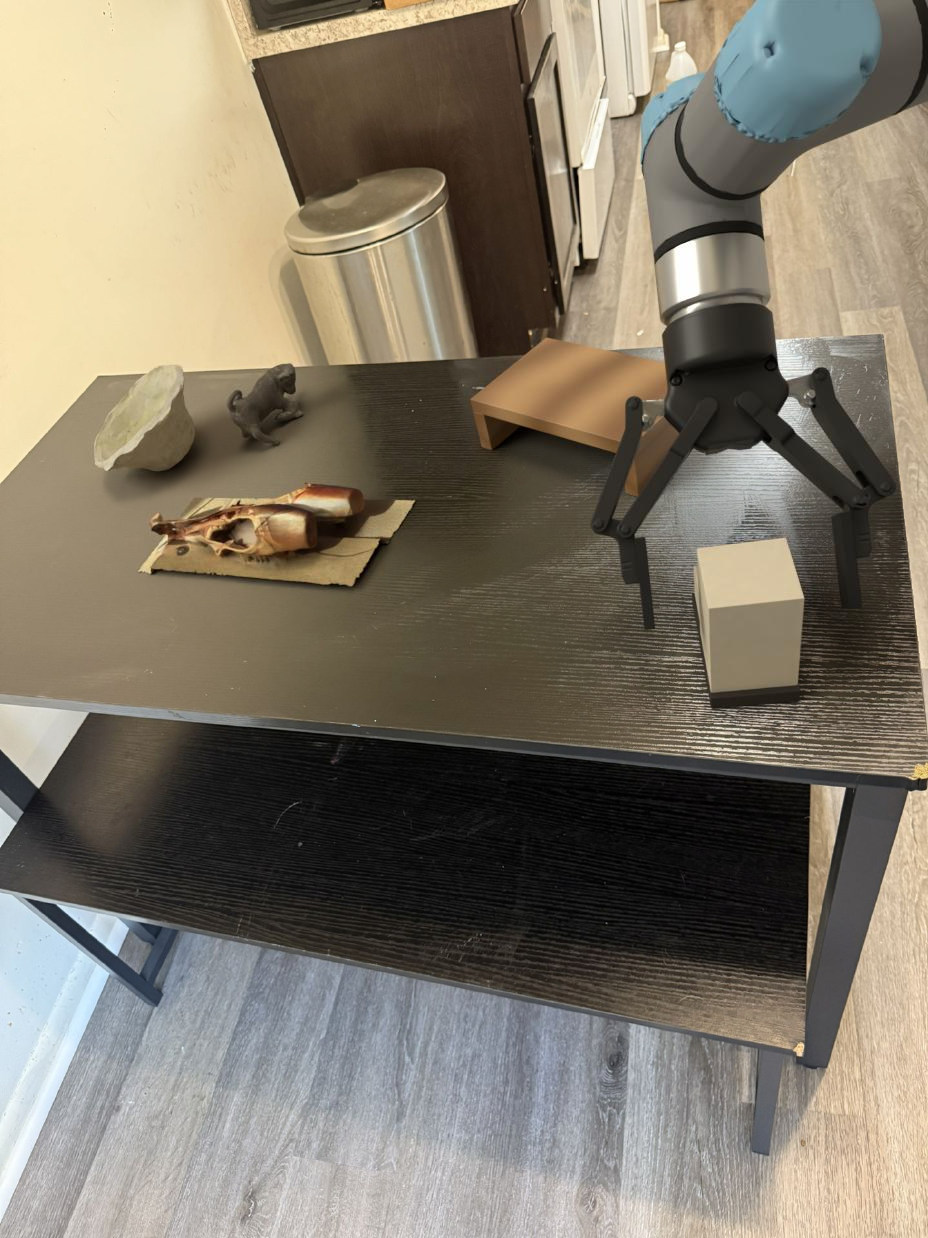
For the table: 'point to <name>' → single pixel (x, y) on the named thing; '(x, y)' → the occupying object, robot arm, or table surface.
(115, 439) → the bowl
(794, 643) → the beige block black base
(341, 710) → the table surface
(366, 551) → the ballet pointe shoes
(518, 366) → the shoe shelf
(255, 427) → the dog figurine
